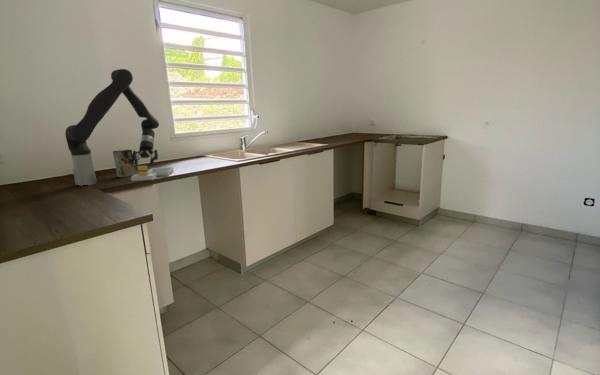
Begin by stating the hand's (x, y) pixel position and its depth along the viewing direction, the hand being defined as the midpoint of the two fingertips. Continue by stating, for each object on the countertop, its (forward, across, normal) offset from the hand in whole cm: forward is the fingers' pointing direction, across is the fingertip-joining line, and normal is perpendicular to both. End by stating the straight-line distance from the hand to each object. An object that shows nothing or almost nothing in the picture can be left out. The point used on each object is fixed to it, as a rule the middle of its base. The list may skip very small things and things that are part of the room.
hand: (143, 165), depth 194 cm
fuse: (+8, 0, +4) cm, 8 cm away
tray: (-1, +6, +12) cm, 13 cm away
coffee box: (-2, -15, +14) cm, 20 cm away
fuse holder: (+8, 0, +4) cm, 8 cm away
